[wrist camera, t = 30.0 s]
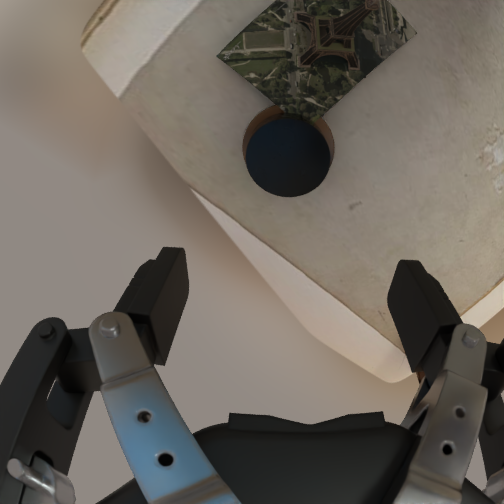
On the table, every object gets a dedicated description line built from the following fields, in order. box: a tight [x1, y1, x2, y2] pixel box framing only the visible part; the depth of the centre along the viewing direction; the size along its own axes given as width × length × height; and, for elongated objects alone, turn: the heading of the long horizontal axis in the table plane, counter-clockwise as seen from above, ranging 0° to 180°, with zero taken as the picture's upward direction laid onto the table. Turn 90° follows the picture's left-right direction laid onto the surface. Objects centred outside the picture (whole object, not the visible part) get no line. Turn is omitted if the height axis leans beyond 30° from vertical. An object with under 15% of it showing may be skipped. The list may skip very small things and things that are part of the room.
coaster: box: [243, 105, 334, 166], centre depth 25 cm, size 8×8×1 cm
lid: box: [245, 113, 331, 197], centre depth 23 cm, size 7×7×3 cm
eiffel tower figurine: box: [217, 0, 417, 123], centre depth 13 cm, size 15×10×13 cm
